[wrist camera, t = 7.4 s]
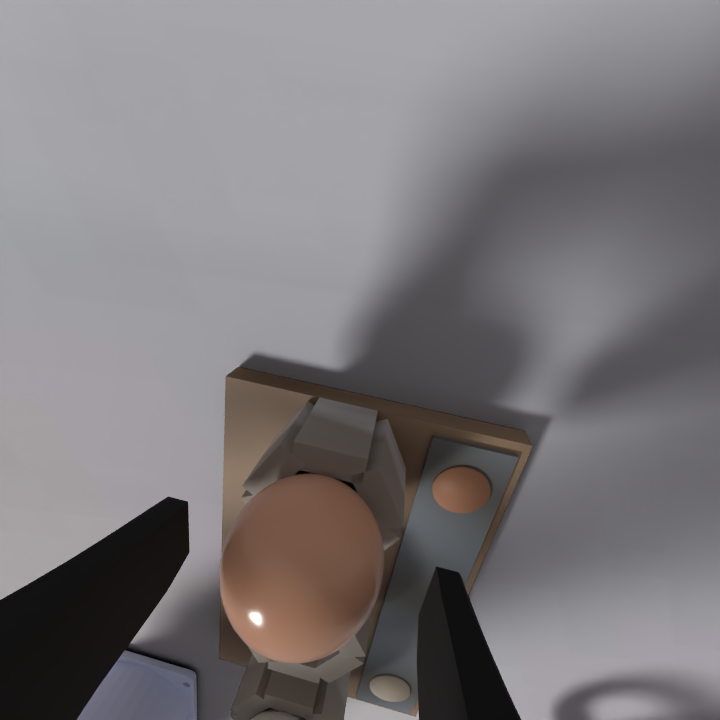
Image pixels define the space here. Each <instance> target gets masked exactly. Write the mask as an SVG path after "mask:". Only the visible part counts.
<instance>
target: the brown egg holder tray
mask: <svg viewBox="0 0 720 720" xmlns="http://www.w3.org/2000/svg"><path fill="white" fill-rule="evenodd" d="M532 447H533V445H532V443H531V442H530V440H529V438H528V436H527V434H526V433H525V431H521V430H517V429H513V428H508V427H504V426H499V425H495V424H490V423H486V422H481V421H477V420H472V419H468V418H463V417H459V416H454V415H450V414H446V413H441V412H437V411H432V410H428V409H423V408H419V407H414V406H410V405H405V404H401V403H396V402H392V401H387V400H383V399H379V398H374V397H370V396H365V395H361V394H356V393H352V392H347V391H343V390H338V389H334V388H329V387H325V386H320V385H316V384H311V383H307V382H303V381H298V380H294V379H289V378H285V377H280V376H276V375H271V374H267V373H262V372H258V371H253V370H249V369H244V368H240V367H237V368H236V369H235V370H233V371H232V372H231V373H230V374H228V375H227V376H226V391H225V433H224V476H223V518H222V550H223V547H224V543H225V540H226V538H227V535H228V532H229V530H230V528H231V526H232V524H233V522H234V521H235V519H236V517H237V516H238V514H239V513H240V511H241V510H242V509H243V507H244V506H245V505H246V504H247V503H248V502H249V501H250V500H251V499H252V498H253V497H254V496H255V495H256V494H257V493H258V492H260V491H261V490H262V489H264V488H265V487H267V486H268V485H270V484H272V483H274V482H276V481H278V480H280V479H282V478H286V477H289V476H293V475H298V474H319V475H324V476H328V477H331V478H334V479H336V480H339V481H341V482H342V483H344V484H346V485H348V486H349V487H350V488H352V489H353V490H354V491H355V492H357V493H358V494H359V496H360V497H361V498H362V499H363V500H364V501H365V502H366V504H367V505H368V506H369V508H370V510H371V511H372V513H373V515H374V517H375V519H376V521H377V524H378V527H379V530H380V533H381V536H382V542H383V548H384V573H383V580H382V585H381V589H380V593H379V596H378V599H377V601H376V604H375V606H374V608H373V610H372V613H371V614H370V616H369V617H368V619H367V621H366V622H365V624H364V625H363V627H362V628H361V629H360V630H359V632H358V633H357V634H356V635H355V636H354V637H353V638H352V639H351V640H350V641H349V642H348V643H347V644H345V645H344V646H343V647H341V648H340V649H339V650H338V651H336V652H334V653H332V654H330V655H328V656H326V657H324V658H322V659H319V660H315V661H311V662H307V663H300V664H292V663H283V662H278V661H275V660H271V659H269V658H267V657H264V656H262V655H261V654H259V653H257V652H255V651H254V650H253V649H251V648H250V647H249V646H248V645H247V644H246V643H245V642H244V641H243V640H242V639H241V638H240V637H239V635H238V634H237V633H236V632H235V630H234V629H233V627H232V625H231V623H230V621H229V619H228V617H227V615H226V612H225V609H224V606H223V602H222V598H221V602H220V645H219V659H223V660H226V661H229V662H233V663H236V664H239V665H243V666H246V667H247V669H246V671H245V674H244V677H243V679H242V682H241V684H240V687H239V690H238V692H237V695H236V697H235V700H234V703H233V705H232V708H231V711H232V712H231V715H230V716H231V717H232V718H233V720H251V719H252V718H253V717H255V716H256V715H257V714H259V713H261V712H263V711H265V710H268V709H271V708H273V709H276V710H279V711H283V712H286V713H289V714H292V715H296V716H299V717H302V718H304V719H305V720H344V714H345V707H346V700H347V697H351V698H354V699H357V700H361V701H364V702H368V703H371V704H374V705H378V706H381V707H384V708H388V709H391V710H394V711H398V712H401V713H405V714H408V715H411V716H415V717H416V714H417V712H418V710H419V705H418V683H417V638H418V617H419V612H420V609H421V607H422V604H423V601H424V598H425V596H426V593H427V590H428V587H429V585H430V582H431V579H432V576H433V574H434V571H435V568H436V566H437V567H441V568H444V569H448V570H452V571H456V572H459V573H460V575H461V577H462V579H463V582H464V585H465V588H466V591H467V593H468V594H469V592H470V590H471V588H472V585H473V583H474V581H475V578H476V576H477V574H478V571H479V569H480V567H481V564H482V562H483V560H484V558H485V555H486V553H487V551H488V548H489V546H490V544H491V541H492V539H493V537H494V534H495V532H496V530H497V528H498V525H499V523H500V521H501V518H502V516H503V514H504V511H505V509H506V507H507V505H508V502H509V500H510V498H511V495H512V493H513V491H514V488H515V486H516V484H517V481H518V479H519V477H520V475H521V472H522V470H523V468H524V465H525V463H526V461H527V458H528V456H529V454H530V452H531V449H532Z"/></svg>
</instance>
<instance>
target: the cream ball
mask: <svg viewBox="0 0 720 720" xmlns="http://www.w3.org/2000/svg"><path fill="white" fill-rule="evenodd" d="M251 720H305V719H304V718H302V717H299V716H296V715H292V714H289V713H286V712H283V711H279V710H276V709H273V708H271V709H268V710H265V711H263V712H261V713H259V714H257V715H256V716H255V717H253V718H252V719H251Z"/></svg>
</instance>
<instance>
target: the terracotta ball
mask: <svg viewBox="0 0 720 720" xmlns="http://www.w3.org/2000/svg"><path fill="white" fill-rule="evenodd" d="M383 573H384V548H383V542H382V536H381V533H380V530H379V527H378V524H377V521H376V519H375V517H374V515H373V513H372V511H371V510H370V508H369V506H368V505H367V504H366V502H365V501H364V500H363V499H362V498H361V497H360V496H359V494H358V493H357V492H355V491H354V490H353V489H352V488H350V487H349V486H348V485H346V484H344V483H342V482H341V481H339V480H336V479H334V478H331V477H328V476H324V475H319V474H298V475H293V476H289V477H286V478H282V479H280V480H278V481H276V482H274V483H272V484H270V485H268V486H267V487H265V488H264V489H262V490H261V491H260V492H258V493H257V494H256V495H255V496H254V497H253V498H252V499H251V500H250V501H249V502H248V503H247V504H246V505H245V506H244V507H243V509H242V510H241V511H240V513H239V514H238V516H237V517H236V519H235V521H234V522H233V524H232V526H231V528H230V530H229V532H228V535H227V538H226V540H225V543H224V547H223V550H222V555H221V560H220V571H219V583H220V593H221V598H222V602H223V606H224V609H225V612H226V615H227V617H228V619H229V621H230V623H231V625H232V627H233V629H234V630H235V632H236V633H237V634H238V635H239V637H240V638H241V639H242V640H243V641H244V642H245V643H246V644H247V645H248V646H249V647H250V648H251V649H253V650H254V651H255V652H257V653H259V654H261V655H262V656H264V657H267V658H269V659H271V660H275V661H278V662H283V663H292V664H300V663H307V662H311V661H315V660H319V659H322V658H324V657H326V656H328V655H330V654H332V653H334V652H336V651H338V650H339V649H340V648H341V647H343V646H344V645H345V644H347V643H348V642H349V641H350V640H351V639H352V638H353V637H354V636H355V635H356V634H357V633H358V632H359V630H360V629H361V628H362V627H363V625H364V624H365V622H366V621H367V619H368V617H369V616H370V614H371V613H372V610H373V608H374V606H375V604H376V601H377V599H378V596H379V593H380V589H381V585H382V580H383Z"/></svg>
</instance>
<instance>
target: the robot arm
mask: <svg viewBox="0 0 720 720" xmlns="http://www.w3.org/2000/svg"><path fill="white" fill-rule="evenodd" d="M188 554H189V522H188V502H187V501H183V500H179V499H175V498H171V497H167V498H165V499H164V500H162V501H161V502H159V503H158V504H156V505H154V506H153V507H151V508H150V509H148V510H147V511H145V512H144V513H142V514H141V515H139V516H138V517H136V518H135V519H133V520H131V521H130V522H128V523H127V524H125V525H124V526H122V527H121V528H119V529H118V530H116V531H115V532H113V533H111V534H110V535H108V536H107V537H105V538H104V539H102V540H100V541H99V542H97V543H96V544H94V545H92V546H91V547H89V548H88V549H86V550H85V551H83V552H81V553H80V554H78V555H77V556H75V557H73V558H72V559H70V560H68V561H67V562H65V563H63V564H62V565H60V566H58V567H57V568H55V569H53V570H52V571H50V572H48V573H46V574H45V575H43V576H41V577H40V578H38V579H36V580H35V581H33V582H31V583H30V584H28V585H26V586H24V587H23V588H21V589H19V590H17V591H16V592H14V593H12V594H10V595H8V596H7V597H5V598H3V599H1V600H0V720H197V683H196V674H195V672H193V671H192V670H189V669H186V668H183V667H179V666H176V665H173V664H169V663H166V662H163V661H159V660H156V659H153V658H149V657H146V656H143V655H140V654H136V653H133V652H130V651H126V650H125V649H126V648H127V646H128V645H129V644H130V642H131V641H132V639H133V638H134V637H135V635H136V634H137V633H138V631H139V630H140V628H141V627H142V626H143V624H144V623H145V621H146V620H147V619H148V617H149V616H150V614H151V613H152V611H153V610H154V609H155V607H156V606H157V604H158V603H159V602H160V600H161V599H162V597H163V596H164V594H165V593H166V592H167V590H168V588H169V587H170V585H171V583H172V582H173V580H174V578H175V577H176V575H177V573H178V571H179V570H180V568H181V566H182V564H183V562H184V561H185V559H186V557H187V555H188ZM417 683H418V705H419V720H521V718H520V716H519V714H518V712H517V710H516V708H515V706H514V704H513V701H512V699H511V697H510V695H509V693H508V691H507V688H506V686H505V684H504V682H503V679H502V677H501V675H500V672H499V670H498V668H497V666H496V663H495V661H494V659H493V656H492V654H491V652H490V649H489V647H488V645H487V642H486V640H485V637H484V635H483V632H482V630H481V627H480V625H479V622H478V620H477V617H476V615H475V612H474V609H473V607H472V604H471V602H470V599H469V596H468V593H467V591H466V588H465V585H464V582H463V579H462V577H461V575H460V573H459V572H456V571H452V570H448V569H444V568H441V567H437V566H436V568H435V571H434V574H433V576H432V579H431V582H430V585H429V587H428V590H427V593H426V596H425V598H424V601H423V604H422V607H421V609H420V612H419V617H418V638H417Z"/></svg>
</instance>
